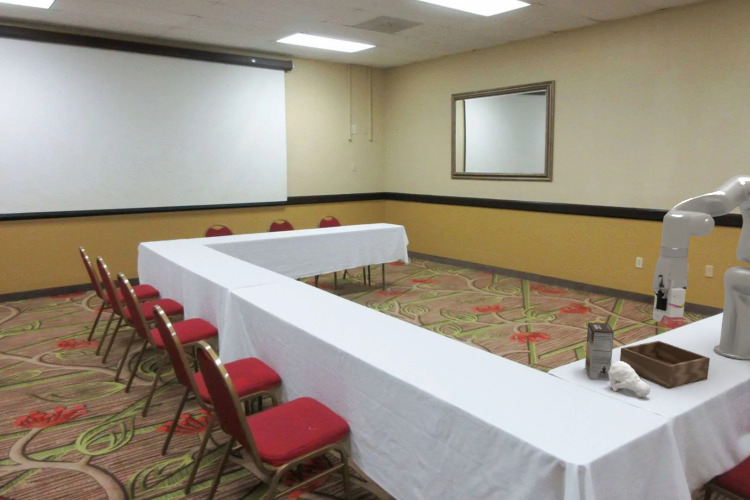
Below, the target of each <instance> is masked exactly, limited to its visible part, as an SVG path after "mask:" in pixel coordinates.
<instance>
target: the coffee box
mask: <svg viewBox="0 0 750 500" xmlns="http://www.w3.org/2000/svg"><path fill="white" fill-rule="evenodd" d="M586 335H587V336H586V350H585V361H584V362H585V364H584V369H585V371H586V373H587V376H588V378H589V380H599V381H610V380H609V374H608V371H609V370H610V366H611V365H612V357H613V348H614V335H615V332H614V330H613V329H612V327H611V325H610V324H609V322H608V323H607V322H605V323H604V322H588V323H587V334H586Z"/></svg>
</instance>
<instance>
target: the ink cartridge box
mask: <svg viewBox="0 0 750 500" xmlns="http://www.w3.org/2000/svg"><path fill="white" fill-rule="evenodd" d="M672 286H673V280H671V285H670V289H669V290H668V293H667V296H666V298H667V307H666V311H662V310H659V309H656V303H657V297H656V294H655V293H654V300H653V310H652V311H653V313H652V319H653V320H655V321H657V322H658V323H661V324H664V325H665V326H668V327H678V326H679V327H680V326H681V327H683V325H684V324H683V323H684V311H685V301H686V293H687V288H686V289H683V288H672ZM662 288H664V286H663V287H662ZM662 292H664V290H662Z"/></svg>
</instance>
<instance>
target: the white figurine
mask: <svg viewBox="0 0 750 500" xmlns="http://www.w3.org/2000/svg"><path fill="white" fill-rule="evenodd" d="M608 374H609V380H608V381H609V383H610V385H611V388H612V391H613V392H617V391H618V389H627V390H631V391H634V392H636V394H637V397H638V398H643V399H644V398H645V397H647V396H648V395H650V394H651V387H650V386H649V384H648V383H647V382H644V381H643V380H641V377H639V376H638V375H637V374H636V372H635V370H634V369H633V368H631V366H630V365H629V364H627V363H625V362H623V361H620V360H616V361H615V362H613V363H611V366H610V370H609V371H608Z"/></svg>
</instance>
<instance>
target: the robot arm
mask: <svg viewBox="0 0 750 500" xmlns="http://www.w3.org/2000/svg"><path fill="white" fill-rule="evenodd" d="M737 207H738V209H739V211H740V213H741V216H742V226H741V230H740V235H739V239H738V243H737V246H736V250H735V251H736V252H735V255H736V259H737V260H738V261H740V262H743V263H744V264H750V174H736V175H733V176H731V177H730V178H728V179H727V180H725V181H724V182H723V183H721V184H720V185H719V186H717V188H715V189H713V190H712V191H711V192H709V193H704V194H701V195H698V196H695V197H692V198H689V199H688V198H687V199H685V200H683V201H680V202H679V203H677V204H676V205H675V206H673V207H672V208H671V209H669V210H668V211H667V213H666V214H665V215H664V216H663V220H662V221H663V222H662V231H661V242H660V243H661V244H660V252H659V256H658V258H657V260H656V261H657V262H656V264H655V270H654V275H653V282H652V283H653V285H652V286H651V289H652V290H653V291H654V295H655V294H656V297H657V303H656V309H659V310H662V311H666V307H667V298H666V296H667V293H668V290H669V289H670V285H671V280H673V286H672V288H683V289H686V290H687V288H688V286H689V285H690V282H689V280H688V278H689V277H688V275H689V264H688V263H689V262H688V261H689V260H688V258H689V257H688V255H689V245H690V237H691V236H692V237H705V236H708V235H709V234H711V233H712V231H713V230H714V228H715V220H714V218H715V217H721V216H724V215H725V216H726V215H728V214H730V213H731V212H732V211H733V210H735V209H736V208H737ZM713 217H714V218H713ZM663 286H664V288H662V287H663ZM723 287H724V304H723V311H722V321H721V329H720V336H719V337H720V338H719V344H718V345H715V346H714V347H713V351H714V352H715V353H717V354H718V355H720V356H722V357H727V358H731V359H735V360H736V359H737V360H744V361H745V360H750V266H749V267H748V266H743V265H742V266H741V265H739V266H738V265H737V266H732V267H729V268H727V270H726V271H725V272H724V274H723ZM662 290H664V292H662Z"/></svg>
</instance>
